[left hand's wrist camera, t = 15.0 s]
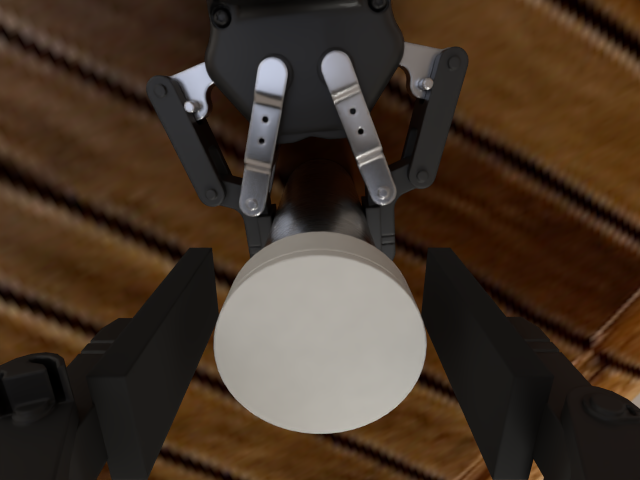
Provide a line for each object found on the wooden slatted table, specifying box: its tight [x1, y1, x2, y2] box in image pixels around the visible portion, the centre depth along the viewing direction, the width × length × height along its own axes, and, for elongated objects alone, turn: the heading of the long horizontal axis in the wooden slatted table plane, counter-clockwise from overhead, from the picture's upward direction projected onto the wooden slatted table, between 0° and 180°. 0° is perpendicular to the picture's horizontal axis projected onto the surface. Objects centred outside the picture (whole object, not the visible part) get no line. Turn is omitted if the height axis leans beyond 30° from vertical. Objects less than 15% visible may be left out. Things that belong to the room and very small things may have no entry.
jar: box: [264, 159, 376, 247], centre depth 18 cm, size 4×4×16 cm
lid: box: [214, 232, 427, 434], centre depth 11 cm, size 6×6×2 cm
